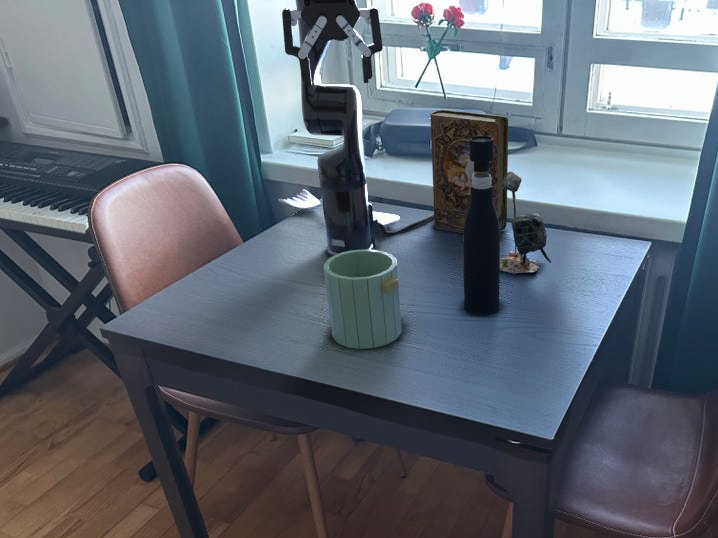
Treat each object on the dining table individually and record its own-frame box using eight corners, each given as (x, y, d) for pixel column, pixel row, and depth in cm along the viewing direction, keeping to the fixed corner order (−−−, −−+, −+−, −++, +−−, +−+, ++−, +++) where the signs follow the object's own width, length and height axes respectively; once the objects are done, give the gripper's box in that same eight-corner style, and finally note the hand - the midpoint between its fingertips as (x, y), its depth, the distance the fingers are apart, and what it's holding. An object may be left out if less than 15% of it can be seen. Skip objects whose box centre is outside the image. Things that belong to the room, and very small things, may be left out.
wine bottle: (495, 317, 123) (497, 145, 107) (460, 313, 124) (457, 143, 108) (502, 300, 128) (505, 134, 113) (468, 297, 130) (466, 132, 114)
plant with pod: (538, 282, 135) (543, 180, 124) (487, 270, 140) (488, 171, 129) (556, 267, 141) (562, 169, 130) (507, 256, 146) (509, 160, 135)
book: (431, 227, 159) (426, 114, 146) (442, 219, 164) (438, 109, 150) (496, 239, 154) (498, 122, 140) (506, 230, 158) (509, 116, 145)
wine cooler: (363, 306, 126) (357, 242, 120) (420, 330, 119) (417, 263, 112) (313, 331, 119) (303, 264, 112) (371, 358, 111) (364, 288, 105)
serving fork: (304, 200, 175) (302, 187, 173) (408, 224, 161) (407, 210, 159) (278, 211, 169) (276, 197, 167) (383, 237, 154) (382, 222, 153)
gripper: (374, -40, 103) (382, 77, 111) (274, -39, 100) (290, 81, 109) (378, -38, 96) (386, 86, 105) (272, -37, 94) (289, 90, 103)
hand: (337, 83), depth 107 cm, fingers open, 8 cm apart
